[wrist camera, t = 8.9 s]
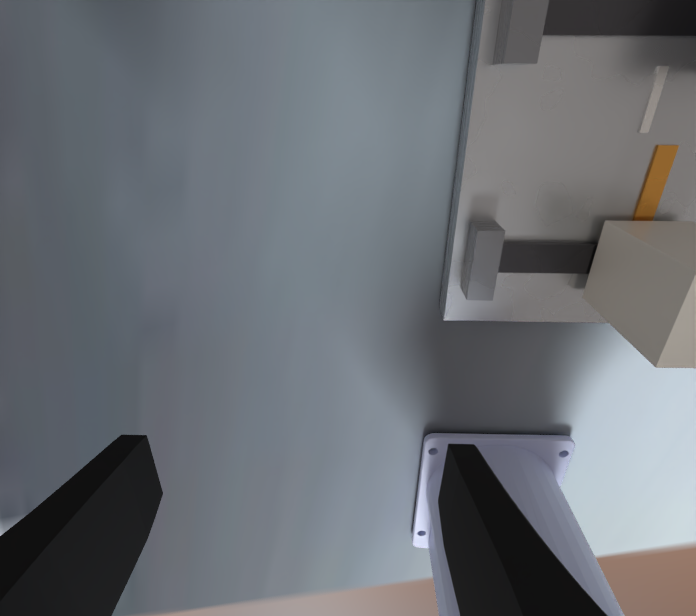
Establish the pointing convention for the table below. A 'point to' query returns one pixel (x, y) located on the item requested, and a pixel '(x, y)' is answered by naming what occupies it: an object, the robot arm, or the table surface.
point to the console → (565, 148)
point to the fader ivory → (648, 287)
